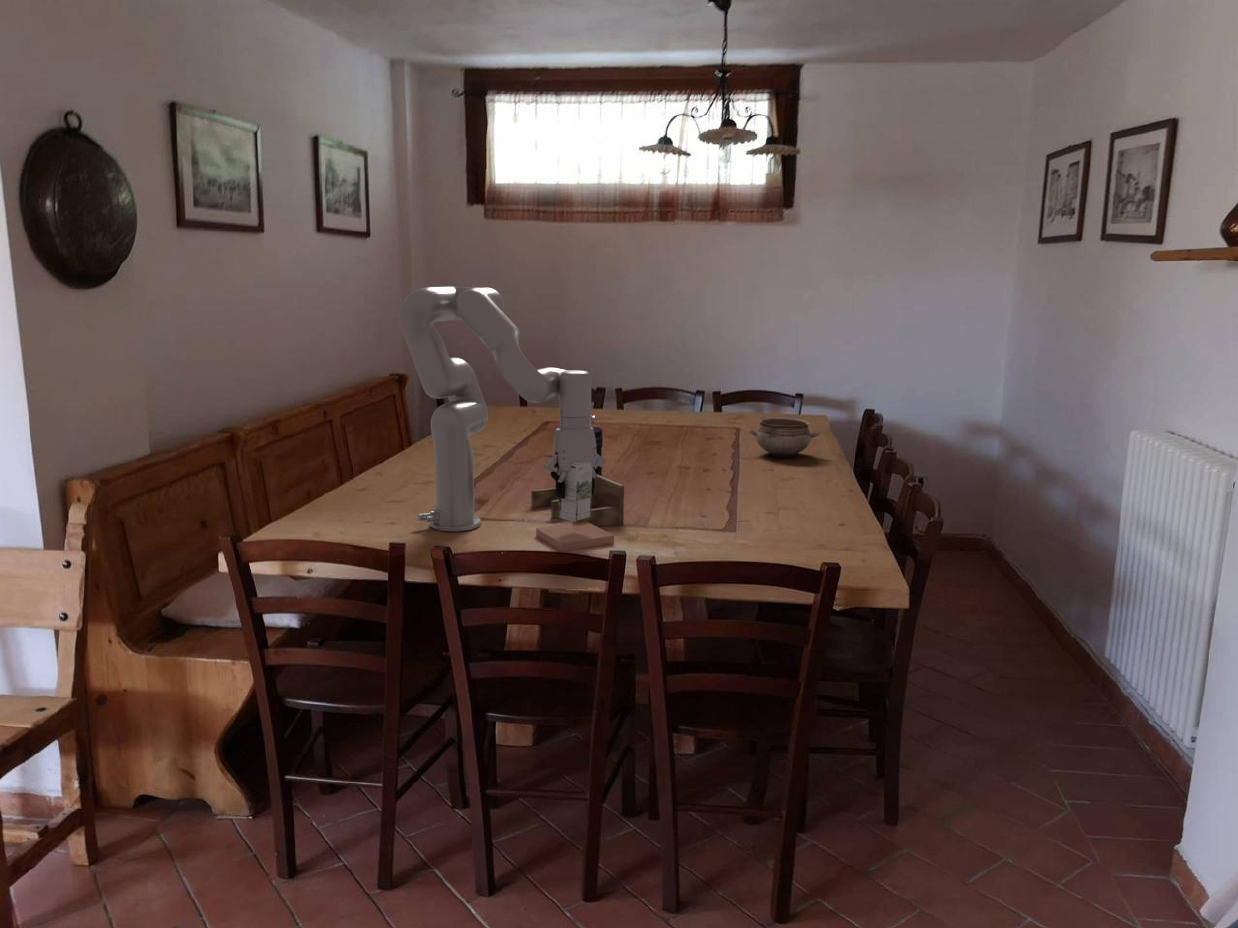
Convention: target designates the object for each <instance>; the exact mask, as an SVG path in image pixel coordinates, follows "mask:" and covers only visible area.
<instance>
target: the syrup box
mask: <svg viewBox="0 0 1238 928" xmlns="http://www.w3.org/2000/svg"><path fill="white" fill-rule="evenodd" d="M563 482H565V498H564V499H562V498H560V497H559V518H558V519H562V520H565V521H569V522H572V523H573V522H578V521H581V520H584V519H588V518H591V498H592V467H591V462H577V463H572V465H571V470H570V471H567V473H566V475H565V477H564V480H563Z"/></svg>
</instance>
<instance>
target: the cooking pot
mask: <svg viewBox="0 0 1238 928" xmlns="http://www.w3.org/2000/svg"><path fill="white" fill-rule="evenodd" d="M758 422H759V425H758V427H757V429H756V431H754V430H751V429H747V432H748V434H750V435H752V436H753V437H755V439H756V443H757V444H758V445H759V447H760V448H761V449H762V450H764V451H765V452H767V453H768V454H770V455H771V456H773V457H775V458H780V459H781V458H783V459H784V458H792V457H793V456H795V455H797V454H799V453H801V452H803V451H804V450H805V449H806V448H807V447H808V446H809V445H810V443H811V440H812V439H813V438H816V437H818V436H820V434H821V433H820V432H819V431H815V432H811V430H810V428H809V424H810V421H808V420H807V419H802V418H797V417H796V418H795V417H785V416H784V417H783V416H779V417H776V416H773V417H763V418H760V419H758Z"/></svg>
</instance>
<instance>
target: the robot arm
mask: <svg viewBox="0 0 1238 928" xmlns="http://www.w3.org/2000/svg"><path fill="white" fill-rule="evenodd" d="M504 312H505V300H504V299H503V297H502V295H501V294H500V293H499V291H497V290H496V289H495V288H491V287H488V286H487V287H469V286H451V285H450V286H449V285H448V286H447V285H444V286H427V287H426V286H425V287H420V288H417V289H414V290H413V291H411V292H410V293H408V294H407V296H405V298H404V299H403V301H402V303H401V304H400V308H399V312H398V313H399V314H398V320H399V327H400V330H401V333H402V336H403V338H404V340H405V342H406V344H407V348H408V349H409V353H410V355H411V358H412V361H413V365H414V366H415V367H414V368H415V370H416V373H417V375H418V378H419V381H420V384H421V387H422V388H423V391H424V392H425V394H426V395H427V396H429V397H430V398H431V399H435V400H437V399H438V400H439V399H440V400H441V399H445V398H447V399H448V401H449V402H445V403H443V404H441V405H439V406H438V407H437V408H436V409H435V410H434V411H433V413H432V415H431V418H430V424H429V425H430V432H431V437H432V441H433V448H434V467H435V469H434V470H435V499H436V500H435V502H436V507H435V506H434V507H432V510H430V511H429V512H422V513H418V514H417V520H418V522H424V521H426V523H430V527H431V528H432V529H434V530H437V531H441V532H465V531H471V530H474V529H476V528H478V527H480V526H481V524H482V521H481V518H480V517H478V516H476V515H475V476H474V475H475V470H474V469H475V467H474V465H475V464H474V452H473V447H472V444H471V442H470V436H473V435H475V434H478V433H479V432H480V433H481V432H482V431H483V430H484V429H485V428H486V426H487V423H488V421H489V412H488V408H487V404H486V401H485V398H484V396H483V393H482V390H481V388H480V385H479V381H478V379H477V376H476V374H475V371H474V369H473V367H472V366H471V365H470V364H469V363H468V362H467V361H466V360H464V359H462V358H461V357H460V358H459V357H454V356H453V357H450V355H449V353H448V351H447V349H446V348H447V347H446V345H445V343H444V340H443V338H442V336H441V334H440V333H439V332H438V330H437V329H436V327H435V325H434V324H435V323H436V322H446V321H447V322H448V321H462V322H463V323H464V324H465V325H466V326H467V327H468V328H469V329H470V330H471V332H472V333H473V334H474V335H475V336H476V337H477V338H478V339H479V340H480V341H481V342H482V343H483V344H484V345H485V346H486V348H488V350H489V351H490V352H491V353H492V356H493V357H494V361H495V363H496V365H497V368H498V370H499V373H500V374H501V376H502V377H503V379H504V380H505V381H506V383H508V385H510V387H511V388H512V389H513V390H514V391H515V392H516V393H517V394H518V395H519V396H520V397H522V399H524V400H525V401H527V402H529V403H531V404H532V403H533V404H540V403H543V402H545V401H549V400H554V399H557V398H558V399H559V400H558V401H559V403H558V404H559V406H558V408H559V418H558V419H559V422H558V424H559V427H557V428H556V429H555V431H554V436H553V445H552V457H551V458H550V459H549V460H548V461H547V462H546V463H545V465H544V466H543V469H544V470H545V471H546V472H547V473H548V475H549V476H550V477H551V478H552V479H553V480H554V481H555V488H556V494H557V496H558V497H560V498H562V499H564V498H565V482H563V480H564V477H565V475H566V473H567V471H570V470H571V465H572V463H577V462H591V467H592V495H593V494H594V489H595V478H596V477H597V474H598V473H599V472H600V470H601V468H602V469H603V468H604V465H605V464H606V459H605V458H604V457H602V456H600V455H599V454H597V451H596V440H595V434H594V430H593V428H592V427H593V426H592V424H593V423H595V422H596V421H597V420H596V419H597V418H596V417H595V415H592V374H590V372H589V371H587V370H580V369H579V370H578V369H574V370H573V369H571V370H570V369H569V370H566V369H562V368H558V367H545V368H539V369H537V368H535V366H534V365H533V364H532V363H531V362H530V361H529V360H528V359H527V357H526V356H525V355H524V353H523V352H522V350H521V348H520V344H519V340H520V335H521V333H520V332H521V331H520V329H519V328H518V326H516V324H515V323H514V322H513V321H512V320H511V319H510V318H509V317H508V316H507V315H506V313H504ZM596 462H597V464H596ZM553 468H555V469H556V470H554V469H553Z"/></svg>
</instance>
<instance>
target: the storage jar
mask: <svg viewBox="0 0 1238 928" xmlns="http://www.w3.org/2000/svg"><path fill="white" fill-rule="evenodd" d="M591 427H592V428H593V430H594V434H595V440H596V451H597V454H599V455H600V456H601V457H602V454H603V453H602V447H603V444H604V443H603V441H604V438H603V431H604V429H603V428H602V427H596V426H591ZM596 464H597V462H596ZM602 469H603V467H602V468H601V470H600V472H599V473H598V475H600V476H603V474H602V472H603V470H602Z"/></svg>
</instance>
